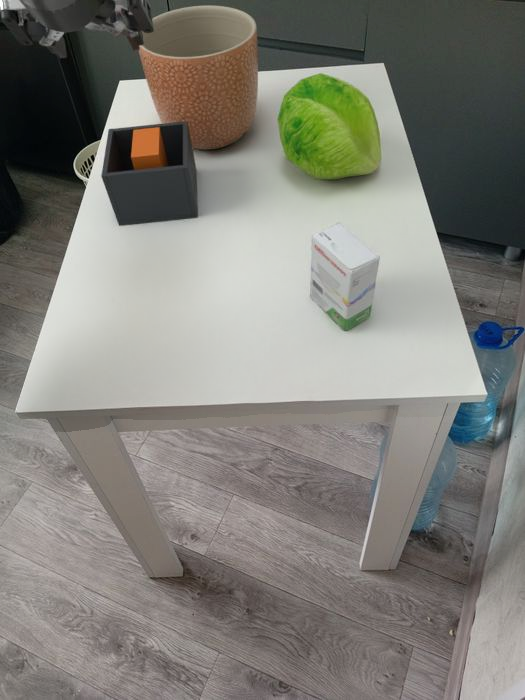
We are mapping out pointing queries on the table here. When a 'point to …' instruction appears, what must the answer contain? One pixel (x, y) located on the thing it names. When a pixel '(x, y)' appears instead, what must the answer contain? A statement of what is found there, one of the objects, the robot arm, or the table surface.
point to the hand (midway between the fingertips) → (99, 45)
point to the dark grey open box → (151, 177)
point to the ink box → (343, 275)
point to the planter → (203, 71)
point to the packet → (148, 149)
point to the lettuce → (329, 128)
